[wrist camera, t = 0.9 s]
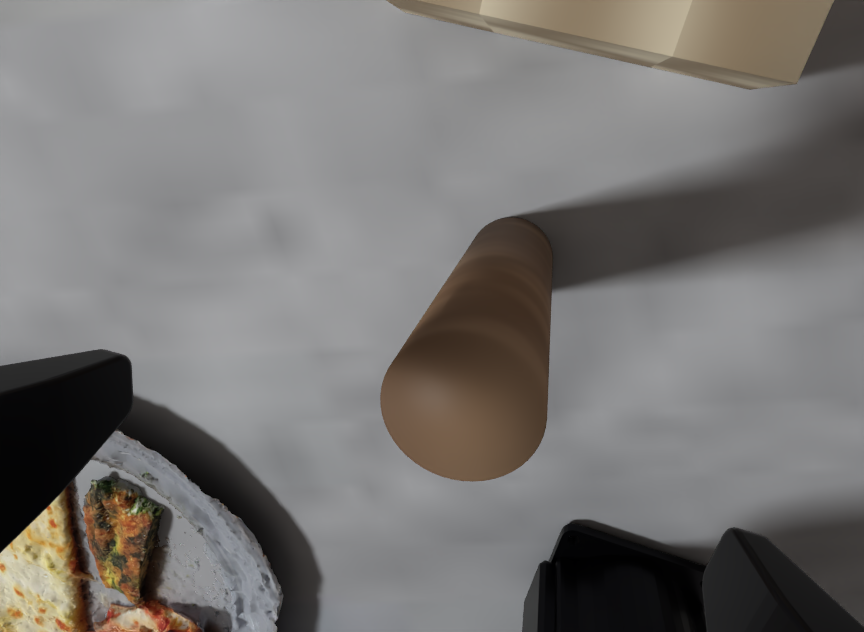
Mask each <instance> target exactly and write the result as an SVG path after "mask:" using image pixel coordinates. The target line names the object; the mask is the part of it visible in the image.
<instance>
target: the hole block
mask: <svg viewBox="0 0 864 632" xmlns="http://www.w3.org/2000/svg"><path fill="white" fill-rule="evenodd" d="M387 1H388V2H390V3H391V4H393V5H394V6H396V7H397V8H399V9H400V10H402V11H403V12H405V13H410V14H414V15H419V16H423V17H428V18H432V19H436V20H441V21H445V22H450V23H454V24H459V25H463V26H468V27H472V28H477V29H481V30H486V31H490V32H495V33H499V34H504V35H508V36H513V37H517V38H522V39H526V40H530V41H535V42H539V43H544V44H548V45H553V46H557V47H562V48H566V49H571V50H575V51H580V52H584V53H589V54H593V55H598V56H602V57H607V58H611V59H616V60H620V61H625V62H629V63H633V64H638V65H642V66H647V67H651V68H656V69H660V70H665V71H669V72H674V73H678V74H683V75H687V76H692V77H696V78H701V79H705V80H710V81H714V82H719V83H723V84H728V85H732V86H736V87H741V88H745V89H758V88H767V87H775V86H783V85H791V84H797V82H798V80H799V78H800V75H801V73H802V71H803V69H804V67H805V64H806V62H807V60H808V58H809V55H810V53H811V51H812V49H813V46H814V44H815V42H816V40H817V37H818V35H819V33H820V31H821V28H822V26H823V24H824V22H825V19H826V17H827V15H828V13H829V10H830V8H831V6H832V4H833V2H834V0H387Z"/></svg>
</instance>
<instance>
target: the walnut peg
mask: <svg viewBox="0 0 864 632" xmlns="http://www.w3.org/2000/svg"><path fill="white" fill-rule="evenodd" d="M552 268H553V253H552V248H551V245H550V242H549V240H548V238H547V237H546V235H545V234H544V232H543V231H542V230H541V229H540V228H539V227H537V226H536V225H535V224H533V223H531V222H529V221H527V220H524V219H521V218H513V217H509V218H502V219H498V220H495V221H493V222H491V223H489V224H488V225H486V226H485V227H484V228H483V229H482V230H481V231H480V232H479V233H478V234H477V236H476V237H475V239H474V240H473V242H472V243H471V245H470V246H469V248H468V249H467V251H466V252H465V254H464V255H463V257H462V258H461V260H460V261H459V263H458V264H457V266H456V267H455V269H454V270H453V272H452V273H451V275H450V276H449V278H448V279H447V281H446V282H445V284H444V285H443V287H442V288H441V290H440V291H439V293H438V294H437V296H436V297H435V299H434V300H433V302H432V303H431V305H430V306H429V308H428V309H427V311H426V312H425V314H424V315H423V317H422V318H421V320H420V321H419V323H418V324H417V326H416V327H415V329H414V330H413V332H412V333H411V335H410V336H409V338H408V340H407V341H406V343H405V344H404V346H403V347H402V349H401V350H400V352H399V353H398V355H397V356H396V358H395V359H394V361H393V362H392V364H391V365H390V367H389V368H388V370H387V372H386V375H385V377H384V380H383V383H382V388H381V395H380V396H381V411H382V416H383V419H384V422H385V425H386V427H387V430H388V432H389V434H390V435H391V437H392V439H393V440H394V442H395V443H396V444H397V446H398V447H399V448H400V449H401V450H402V451H403V452H404V453H405V454H406V455H407V456H408V457H409V458H410V459H411V460H413V461H414V462H415V463H417V464H418V465H420V466H421V467H423V468H424V469H426V470H428V471H430V472H432V473H435V474H437V475H440V476H442V477H446V478H450V479H454V480H460V481H485V480H490V479H495V478H498V477H501V476H504V475H506V474H508V473H510V472H512V471H514V470H516V469H517V468H519V467H520V466H522V465H523V464H524V463H525V462H526V461H528V459H529V458H530V457H531V456H532V455H533V454H534V453H535V451H536V450H537V448H538V446H539V445H540V443H541V440H542V438H543V436H544V432H545V428H546V422H547V405H548V378H549V350H550V323H551V296H552Z"/></svg>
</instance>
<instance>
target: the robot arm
mask: <svg viewBox="0 0 864 632" xmlns="http://www.w3.org/2000/svg"><path fill="white" fill-rule="evenodd" d="M132 405H133V384H132V365H131V362H130V360H129V358H128V357H127V356H125V355H122V354H119V353H115V352H112V351H108V350H103V349H100V350H93V351H87V352H81V353H75V354H69V355H63V356H57V357H51V358H45V359H39V360H33V361H27V362H21V363H15V364H9V365H3V366H0V553H1V552H2V551H3V550H4V549H5V548H6V547H7V546H8V545H9V544H10V543H11V542H12V541H13V540H14V539H15V538H17V537H18V536H19V535H20V534H21V533H22V532H23V531H24V530H25V529H26V528H27V527H28V526H29V525H30V524H31V523H32V522H33V521H34V520H35V519H36V518H37V517H38V516H39V515H40V514H41V513H42V512H43V511H44V510H45V509H46V508H47V507H48V506H49V505H50V504H51V503H52V502H53V501H54V500H55V499H56V498H57V497H58V496H59V495H60V494H61V493H62V492H63V491H64V490H65V488H66V487H67V486H68V485H69V484H70V483H71V482H72V481H73V480H74V478H75V477H76V476H77V475H78V474H79V472H80V471H81V470H82V469H83V468H84V467H85V465H86V464H87V463H88V462H89V461H90V460H91V458H92V457H93V456H94V455H95V454H96V453H97V451H98V450H99V449H100V448H101V447H102V446H103V444H104V443H105V442H106V441H107V440H108V439H109V437H110V436H111V435H112V434H113V433H114V432H115V430H116V429H117V428H118V427H119V426H120V425H121V423H122V422H123V421H124V420H125V419H126V417H127V416H128V414H129V413H130V411H131V408H132ZM571 535H576V536H578V537H576V538H571V537H569V536H571ZM702 580H703V581H702ZM522 632H864V627H863V626H862V625H861V624H860V623H859V622H858V621H857V620H855V619H854V618H853V617H852V616H851V615H850V614H849V613H848V612H847V611H846V610H845V609H843V608H842V607H841V606H840V605H839V604H838V603H837V602H836V601H835V600H834V599H833V598H831V597H830V596H829V595H828V594H827V593H826V592H825V591H824V590H823V589H822V588H821V587H819V586H818V585H817V584H816V583H815V582H814V581H813V580H812V579H811V578H810V577H809V576H807V575H806V574H805V573H804V572H803V571H802V570H801V569H800V568H799V567H798V566H797V565H795V564H794V563H793V562H792V561H791V560H790V559H789V558H788V557H787V556H786V555H785V554H783V553H782V552H781V551H780V550H779V549H778V548H777V547H776V546H775V545H774V544H773V543H771V542H770V541H769V540H768V539H767V538H766V537H764V536H762V535H760V534H757V533H753V532H750V531H746V530H743V529H739V528H735V527H733V528H730V529H728V530H727V531H726V532H725V533H724V534H723V536H722V538H721V540H720V542H719V544H718V546H717V547H716V549H715V551H714V553H713V555H712V557H711V559H710V561H709V563H708V565H707V567H706V566H702V565H699V564H696V563H693V562H690V561H687V560H684V559H681V558H678V557H675V556H672V555H669V554H666V553H663V552H660V551H657V550H654V549H651V548H648V547H645V546H642V545H638V544H635V543H632V542H629V541H626V540H623V539H620V538H617V537H614V536H611V535H608V534H605V533H602V532H599V531H596V530H593V529H590V528H587V527H584V526H581V525H578V524H567V525H565V526H564V527H563V528H562V530H561V532H560V535H559V537H558V540H557V542H556V545H555V547H554V549H553V552H552V554H551V557H550V559H549V562H548V561H543V562H542V563H540V564H539V566H538V569H537V571H536V574H535V576H534V579H533V581H532V584H531V586H530V589H529V591H528V594H527V596H526V598H525V601H524V613H523V627H522Z"/></svg>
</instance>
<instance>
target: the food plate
mask: <svg viewBox="0 0 864 632" xmlns="http://www.w3.org/2000/svg"><path fill="white" fill-rule="evenodd" d="M117 430H118V429H117ZM119 431H120V430H119ZM119 431H115V432H114V433H113V434H112V435H111V436H110V437H109V439H108V440H107V441H106V442H105V443H104V444H103V446H102V447H101V448H100V449H99V450H98V451H97V453H96V454H95V455H94V456H93V457H92V458H91V460H94V461H98V462H99V463H102V464H106V465H108V466H109V468H111V467H114V468H116V469H119V470H124V471H126V472H127V473H130V474H132V475H134V476H135V477H137V478H138V479H139V480H140V481H142V482H144V483H145V484H146V485H147V486H149V487H150V488H153V489H154V490H155V491H156V492H157V493H158V494H159V495H161V496H162V497H164V498H166V499H167V500H168V501H169V504H172V506H174V507H175V509H177V510H178V511H180V512H181V513H182V515H183V517H184V518H186V519H187V520H188V521H189V522H190V524H191V525H193V526H194V527H195V529H193V528H191V529H192V531H193V533H198V534H201V535H202V536H203V538H204V539H205V541H206V543H205V544H204V545H203V546H204V550H203V553H204V554H205V555H206V557H207V558H208V560H209V562H210V563H211V565H212V566H214V567H215V566H217V565H218V564H217V563H219V565H220V567H221V569H216V570H213V569H211V572H212V573H213V574H214V575H216V573H215V572H220V575H221V577H222V580H223V582H224V584H221V583H220V582H219V581H218V579H217V578H216V577H215V580H216V581H217V582H216V581H215V582H213V583H214V584H213V585H214V588H215V590H213V591H211V592H210V591H209V590H211V588H209V587H208V588H207V587H204V588H203V587H200V586H196V587H195V586H193V584H194V582H195V581H194V575H193V574H194V572H196V571H198V570H199V567H200V565H199V564H198V562H199V561H200V560H199V558H198V557H195V558H194V559H193V560H191V559H190V558H189V556H188V555H187V554H184V555H185V556H186V557H187V559H188V560H189V561H188V560H186V566H184V565H182V563H181V562H180V560H178V559H177V555H176V554H175V555H174V556H171V555H170V553H171V551H172V550H171V549H170V548H168V546H167V545H164V546H162V547H159V545H158V544H159V543H158V541H160V540H159V537H158V529H159V526H160V525H159V522H160V519H161V513H162V512H163V511H164V508H165V507H164V506H161V505H159V506H156V505H155V504H154V503H153V502H152V501H150V500H148V499H147V498H145V497H144V496H143V495H142V494H141V492H140V489H139V488H138V487H136V486H134V485H131V484H130V483H128V482H126V481H124V480H123V479H120V478H119V479H117V480H116V481H115V479H114V478H111V477H108V476H105V477H103V478H102V479H100V480H98V481H97V480H92V481H91V484H92V485H91V488H90V490H89V492H88V493H87V494H86V495H85V498H84V506H83V511H84V513H85V517H83V515H82V513H81V509H80V505H79V504H78V499H79V495H78V493H77V492H75V491H74V490H73V489H74V488H75V487H74V484H73V481H72V482H71V483H70V484H69V485H68V486H67V487H66V488H65V490H64V491H63V492H62V493H61V494H60V495H59V496H58V497H57V498H56V499H55V500H54V501H53V502H52V503H51V504H50V505H49V506H48V507H47V508H46V509H45V510H44V511H43V512H42V513H41V514H40V515H39V516H38V517H37V518H36V519H35V520H34V521H33V522H32V523H31V524H30V525H29V526H28V527H27V528H26V529H25V530H24V531H23V532H22V533H21V534H20V535H19V536H18V537H17V538H15V539H14V540H13V541H12V542H11V543H10V544H9V545H8V546H7V547H6V548H5V549H4V550H3V551H2V552H1V553H0V632H227V629H226V627H228V629H229V632H277V626H276V625H275V624H274V622H275V621H276V619H277V620H278V616H279V612H280V608H281V605H282V600H283V596H284V595H283V593H282V591H281V587H280V586H279V585H280V584H279V583H278V582H277V581H278V580H277V577H276V576H275V574H274V573H273V569H270V566H271V564H270V562H268V560H267V557H266V555H264V554H263V552H262V551H263V550H262V548H261V546H260V544H259V543H257V539H256V538H255V536H254V534H253V533H252V532H251V531H250V530H249V529H248V528H247V527H246V525H245V524H244V522H243V521H242V520H241V518H240V517H237V516H236V515H234V514H231V512H230V511H228V509H227V508H228V507H226V506H224V505H223V504H222V503H220V501H219V500H220V499H219V500H218V499H215V498H211V497H210V496H208V495H206V494H204V493H203V492H202V491H201V489H199V486H196V484H194V483H192V482H191V479H187V476H186V475H184V473H182V472H181V470H179V469H178V468H177V466H176V465H174V464H172V463H170V462H169V461H168V460H167V459H165V458H164V457H162V455H161V454H159V453H158V452H156V451H153V450H150V449H147V448H146V447H145V446H144V445H142V444H141V443H140V442H139V441H138V440H137V441H136V440H133V439H131V438H130V437H128V436H125V435H123V433H122V432H119ZM150 448H151V447H150ZM177 518H178V519H180V518H182V517H180V516H178V515H177ZM85 523H86V524H85ZM86 525H87V526H86ZM86 533H87V536H85V534H86ZM184 533H185V532H184ZM185 534H186V533H185ZM190 536H191V535H190ZM191 537H192V536H191ZM157 540H158V541H157ZM166 540H168V541H169V538H168V537H166ZM169 542H170V541H169ZM167 543H168V542H167ZM157 545H158V547H155V546H157ZM173 545H174V549H176V548H175V544H173ZM180 546H185V545H184V544H182V543H180ZM194 548H196V547H194ZM204 551H206V552H207V553H205V552H204ZM188 553H191V551H189V550H188ZM202 558H203V557H202ZM153 566H154V567H153ZM200 576H201V575H200ZM221 588H222V589H223V591H224V592H223V594H221ZM226 589H228V590H230V592H231V594H232V595H231V602H228V601H227V600H226V599H225V598H226V596H228V593H227V591H226ZM195 591H196V593H197V594H196V593H195ZM207 592H208V594H207ZM204 594H207V595H209V596H210V598H211V599H212V601H207V600H205V599H204V597H203V596H204ZM217 595H220V599H218V598H217V599H213V598H214V596H215V597H217ZM209 605H211V606H212V607H210V606H209ZM218 605H220V606H218ZM225 606H226V607H227V609H226V608H225ZM278 606H279V607H278ZM232 607H234V609H232ZM277 607H278V616H277ZM215 611H217V612H219V614H218V616H216V614H215ZM228 612H229V613H228ZM106 613H107V616H106V617H105V614H106ZM228 614H229V615H228Z"/></svg>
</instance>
